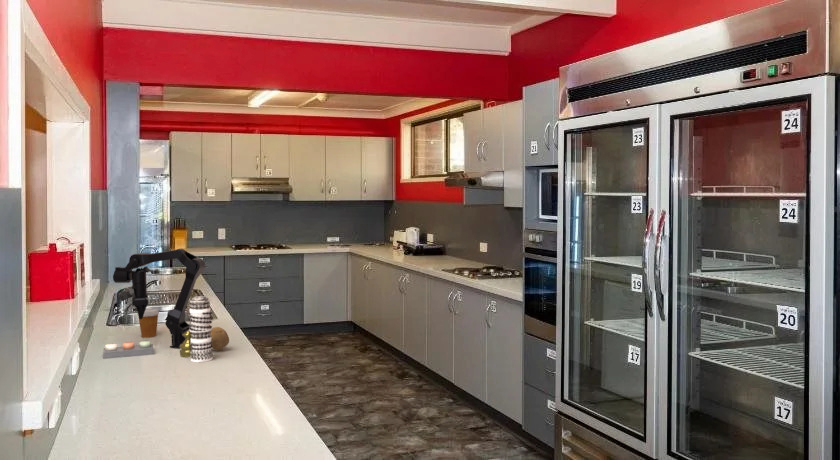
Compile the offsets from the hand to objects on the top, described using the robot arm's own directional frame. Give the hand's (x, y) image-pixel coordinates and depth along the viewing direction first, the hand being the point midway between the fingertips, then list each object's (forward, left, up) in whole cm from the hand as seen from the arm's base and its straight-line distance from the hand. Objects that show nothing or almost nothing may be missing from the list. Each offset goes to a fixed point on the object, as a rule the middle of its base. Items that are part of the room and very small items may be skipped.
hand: (140, 319), depth 327 cm
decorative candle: (-41, +9, -12) cm, 44 cm away
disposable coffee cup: (+14, -18, -12) cm, 26 cm away
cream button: (-2, +18, -9) cm, 20 cm away
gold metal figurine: (-31, +5, -12) cm, 34 cm away
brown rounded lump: (-36, -6, -12) cm, 38 cm away
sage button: (-10, +8, -9) cm, 16 cm away
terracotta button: (-6, +13, -9) cm, 17 cm away
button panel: (-6, +13, -12) cm, 19 cm away
